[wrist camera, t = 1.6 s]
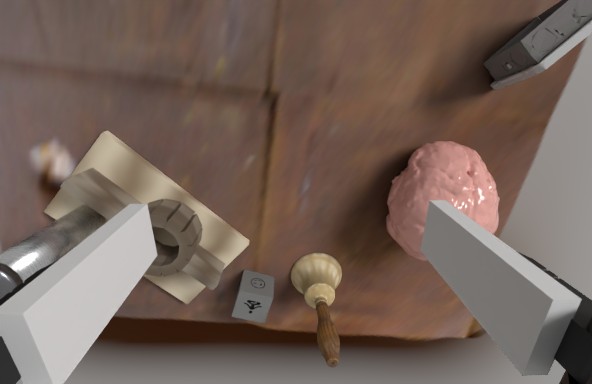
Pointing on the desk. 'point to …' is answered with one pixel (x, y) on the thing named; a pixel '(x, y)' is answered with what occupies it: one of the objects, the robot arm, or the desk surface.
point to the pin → (46, 246)
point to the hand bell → (320, 297)
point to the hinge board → (149, 191)
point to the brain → (440, 192)
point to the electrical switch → (541, 43)
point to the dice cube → (254, 296)
